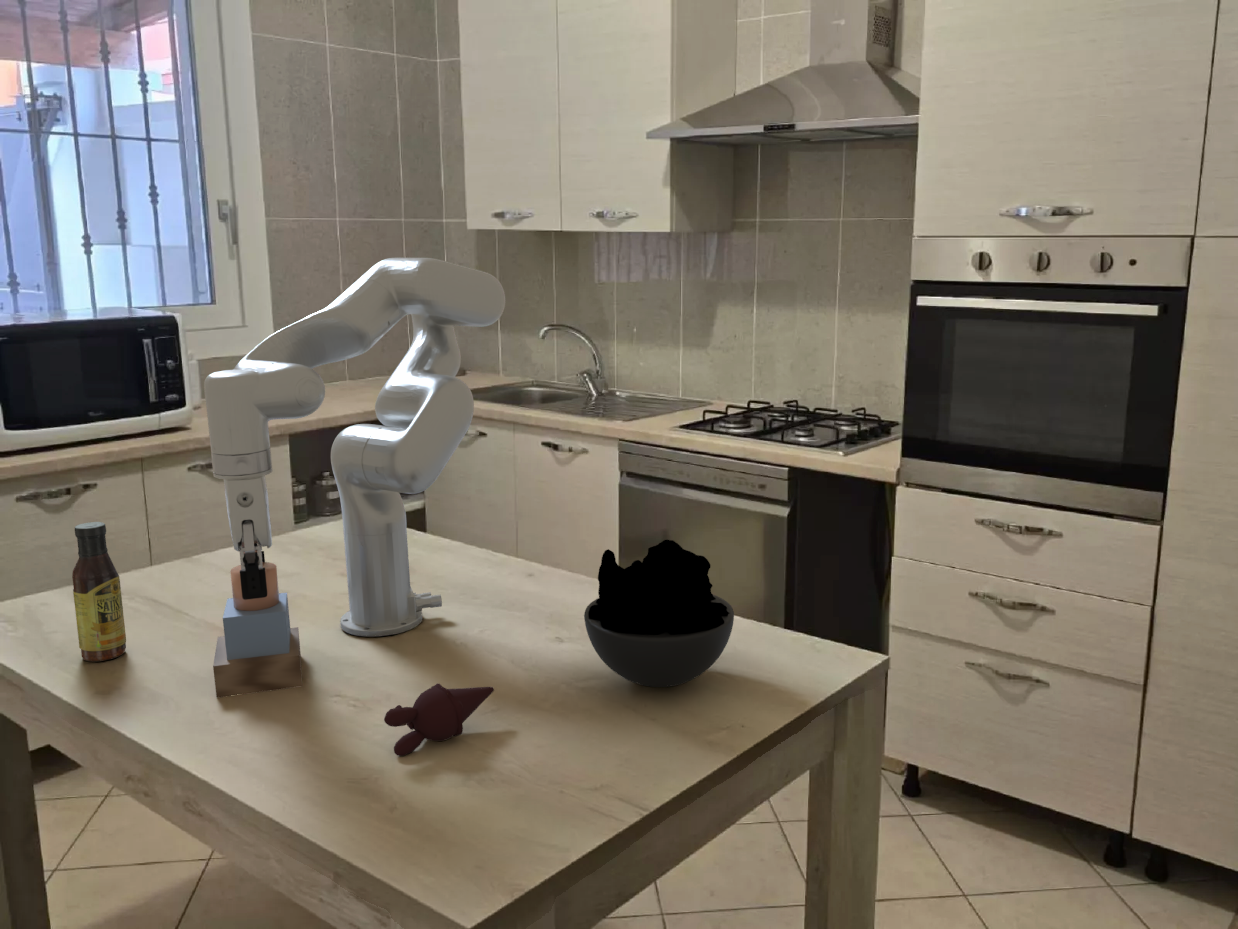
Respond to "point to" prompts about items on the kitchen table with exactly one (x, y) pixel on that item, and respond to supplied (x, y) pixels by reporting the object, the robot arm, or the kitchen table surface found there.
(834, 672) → the kitchen table surface
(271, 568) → the terracotta cylinder
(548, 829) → the kitchen table surface
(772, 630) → the kitchen table surface
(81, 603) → the sauce bottle
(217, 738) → the kitchen table surface
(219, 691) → the tower base
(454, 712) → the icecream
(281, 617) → the tower middle
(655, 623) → the coal bowl
